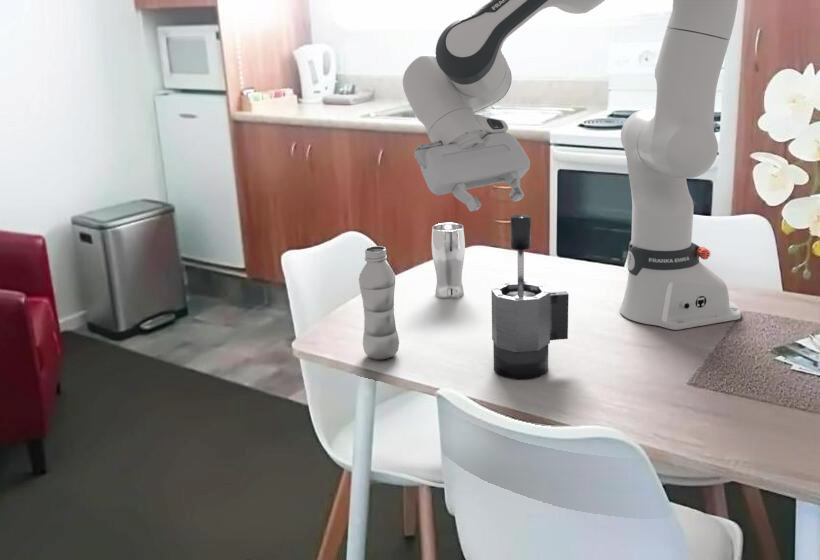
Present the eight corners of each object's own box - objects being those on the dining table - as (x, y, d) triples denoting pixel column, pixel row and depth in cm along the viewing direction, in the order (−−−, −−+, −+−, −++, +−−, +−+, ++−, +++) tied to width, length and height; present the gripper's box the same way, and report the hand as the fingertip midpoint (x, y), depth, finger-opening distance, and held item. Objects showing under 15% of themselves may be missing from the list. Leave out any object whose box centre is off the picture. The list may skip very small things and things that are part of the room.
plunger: (531, 293, 144) (532, 212, 140) (539, 303, 139) (539, 219, 135) (502, 295, 144) (502, 214, 139) (509, 305, 139) (508, 222, 135)
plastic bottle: (405, 351, 154) (400, 245, 148) (389, 366, 149) (383, 256, 142) (373, 347, 157) (367, 242, 151) (356, 361, 151) (349, 253, 145)
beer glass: (463, 300, 179) (461, 231, 174) (430, 299, 180) (428, 230, 175) (468, 289, 185) (466, 222, 181) (436, 288, 187) (434, 222, 182)
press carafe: (558, 353, 151) (559, 278, 146) (573, 375, 142) (575, 296, 137) (488, 359, 149) (487, 284, 145) (499, 381, 141) (499, 302, 136)
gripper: (417, 134, 137) (457, 203, 133) (512, 119, 148) (551, 182, 144) (402, 158, 142) (440, 226, 138) (495, 142, 153) (533, 204, 149)
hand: (498, 203), depth 141 cm, fingers open, 8 cm apart
